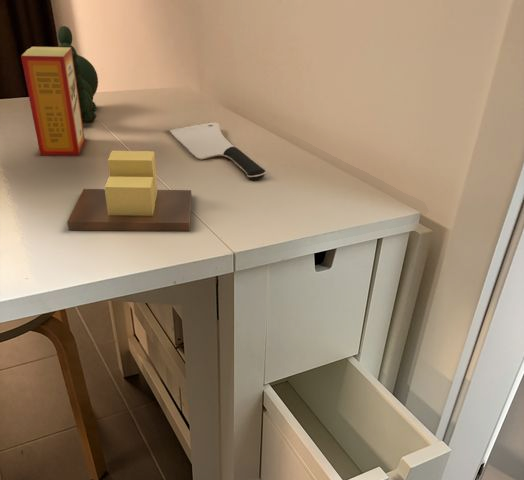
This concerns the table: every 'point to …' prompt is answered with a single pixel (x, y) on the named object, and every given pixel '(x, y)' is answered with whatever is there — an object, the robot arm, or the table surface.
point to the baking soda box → (54, 99)
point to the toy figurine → (81, 77)
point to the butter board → (164, 217)
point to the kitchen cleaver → (215, 147)
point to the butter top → (130, 196)
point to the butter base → (133, 165)
